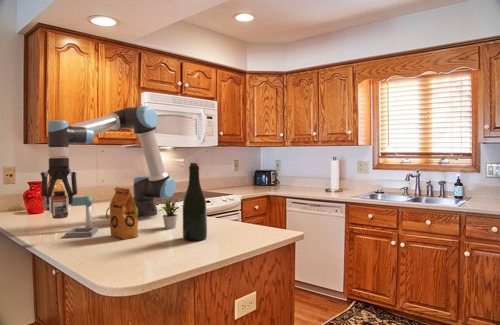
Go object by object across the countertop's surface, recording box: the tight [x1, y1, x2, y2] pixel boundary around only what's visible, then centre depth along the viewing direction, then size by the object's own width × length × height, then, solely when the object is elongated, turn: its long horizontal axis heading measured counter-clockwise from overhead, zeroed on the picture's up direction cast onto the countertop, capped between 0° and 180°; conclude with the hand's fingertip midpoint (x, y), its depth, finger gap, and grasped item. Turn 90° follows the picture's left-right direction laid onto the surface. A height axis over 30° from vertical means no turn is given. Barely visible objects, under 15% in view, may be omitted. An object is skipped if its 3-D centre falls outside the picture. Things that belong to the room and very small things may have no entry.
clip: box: [43, 195, 93, 209], centre depth 168 cm, size 21×3×4 cm, turn 111°
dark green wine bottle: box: [182, 162, 208, 242], centre depth 151 cm, size 10×10×33 cm
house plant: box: [157, 197, 182, 230], centre depth 173 cm, size 14×14×16 cm
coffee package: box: [109, 186, 139, 240], centre depth 156 cm, size 10×12×22 cm
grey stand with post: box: [64, 205, 99, 239], centre depth 164 cm, size 11×18×12 cm, turn 10°
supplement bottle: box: [51, 190, 69, 220], centre depth 148 cm, size 6×6×11 cm
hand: (60, 212), depth 148 cm, fingers closed on supplement bottle, 6 cm apart
